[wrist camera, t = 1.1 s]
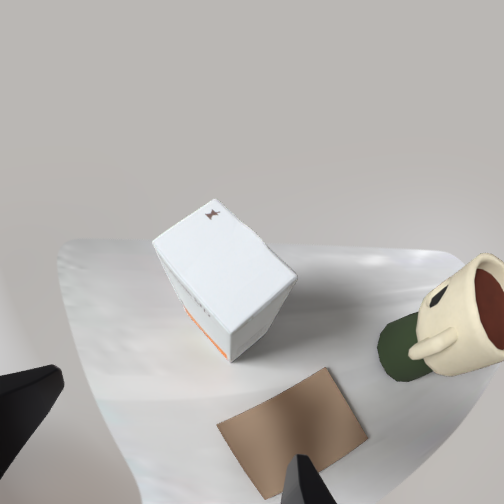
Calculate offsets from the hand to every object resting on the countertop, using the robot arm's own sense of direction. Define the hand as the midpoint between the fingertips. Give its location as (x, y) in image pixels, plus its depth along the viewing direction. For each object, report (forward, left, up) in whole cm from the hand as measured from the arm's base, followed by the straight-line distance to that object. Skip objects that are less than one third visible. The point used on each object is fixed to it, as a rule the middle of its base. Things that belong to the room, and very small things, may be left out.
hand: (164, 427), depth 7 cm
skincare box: (+7, +1, -13) cm, 15 cm away
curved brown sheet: (0, -8, -13) cm, 15 cm away
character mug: (+11, -15, -13) cm, 23 cm away
